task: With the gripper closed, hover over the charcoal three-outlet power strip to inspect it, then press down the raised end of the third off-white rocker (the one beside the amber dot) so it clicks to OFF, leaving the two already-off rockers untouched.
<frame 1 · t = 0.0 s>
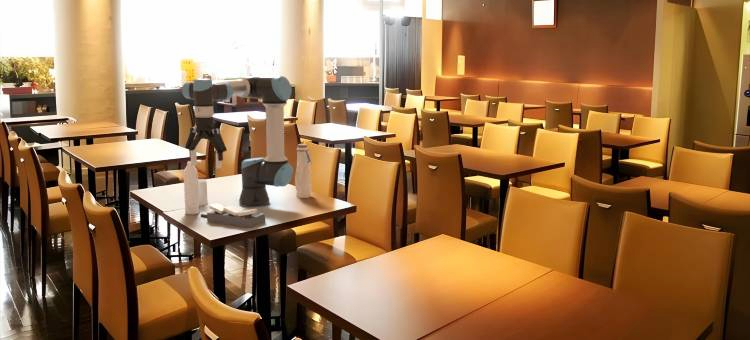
hand: (206, 166, 257), 28 cm above the table, fingers open, 13 cm apart
water bottle: (194, 212, 292), on the table
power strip: (236, 221, 277), on the table
rocker 3: (247, 212, 271), point 6 cm above the table, hinge at 15.0°
rocker 2: (233, 210, 274), point 6 cm above the table, hinge at -15.0°
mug: (196, 205, 308), on the table
rocker 1: (219, 208, 277), point 6 cm above the table, hinge at -15.0°
water bottle 2: (304, 196, 327), on the table
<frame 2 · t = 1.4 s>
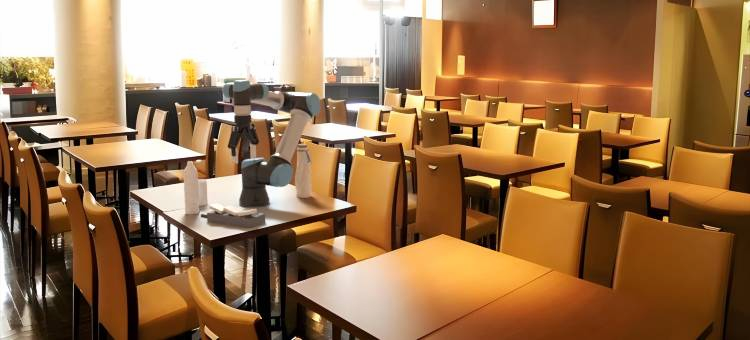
hand: (244, 160, 281), 26 cm above the table, fingers open, 13 cm apart
nothing on the table moved.
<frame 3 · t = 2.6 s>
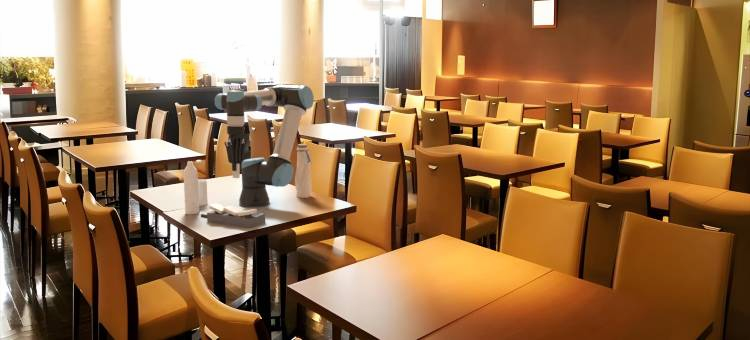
hand: (236, 177, 276), 20 cm above the table, fingers closed
nothing on the table moved.
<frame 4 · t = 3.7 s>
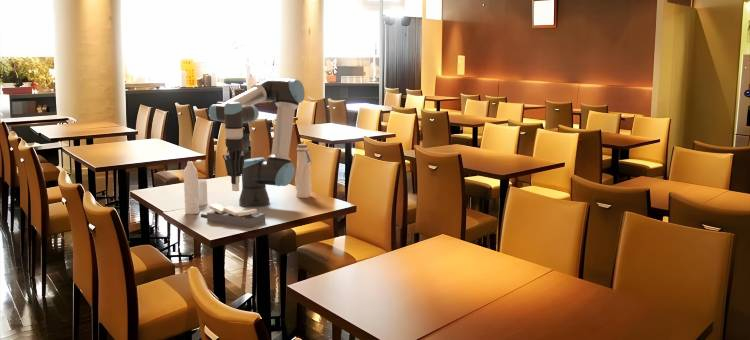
hand: (235, 190, 271), 15 cm above the table, fingers closed
nothing on the table moved.
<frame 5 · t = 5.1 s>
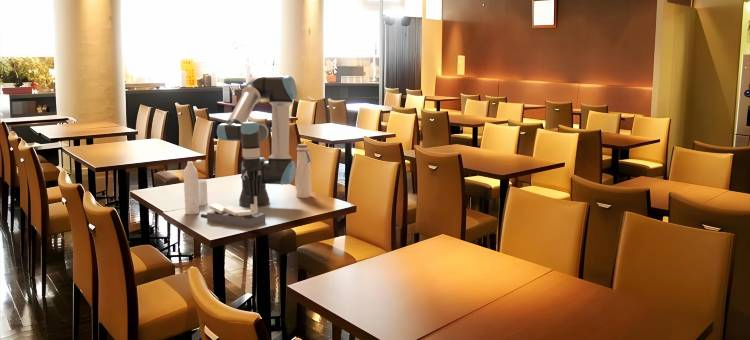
hand: (254, 210, 269), 7 cm above the table, fingers closed
rocker 3: (247, 212, 271), point 6 cm above the table, hinge at 10.1°, touching gripper
everything else where it was.
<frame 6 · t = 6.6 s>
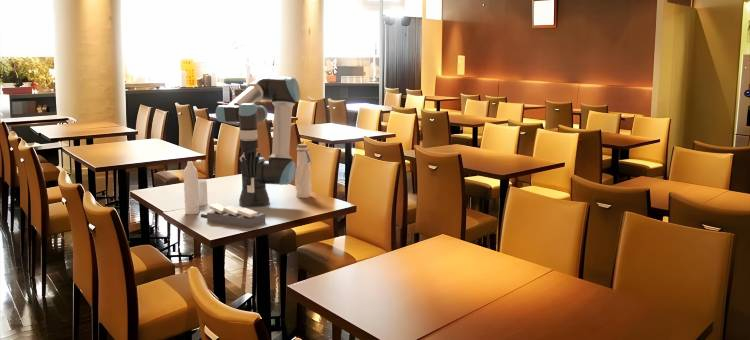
hand: (250, 192, 270), 15 cm above the table, fingers closed
rocker 3: (247, 212, 271), point 6 cm above the table, hinge at -10.4°
everything else where it was.
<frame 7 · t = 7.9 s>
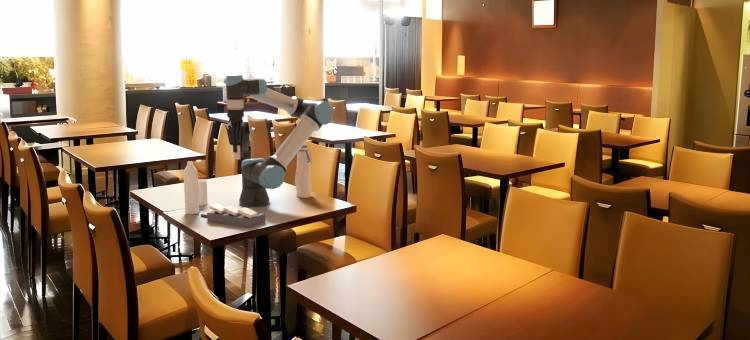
hand: (237, 159, 286), 26 cm above the table, fingers closed
rocker 3: (247, 212, 271), point 6 cm above the table, hinge at -14.9°
everything else where it was.
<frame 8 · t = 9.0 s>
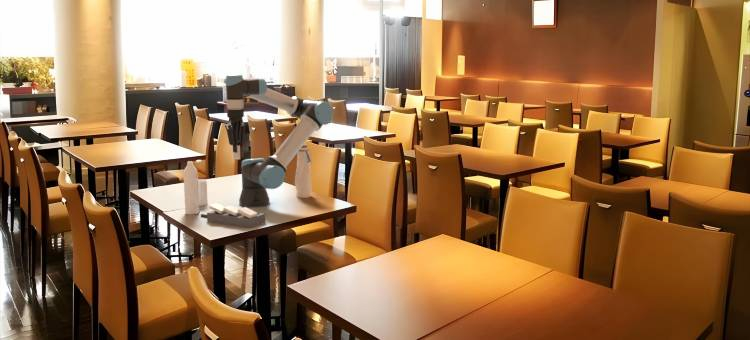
hand: (237, 159, 286), 26 cm above the table, fingers closed
rocker 3: (247, 212, 271), point 6 cm above the table, hinge at -16.8°
everything else where it was.
at the end: rocker 3 at -17° (first picture: +15°); rocker 2 at -15° (first picture: -15°); rocker 1 at -15° (first picture: -15°) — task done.
